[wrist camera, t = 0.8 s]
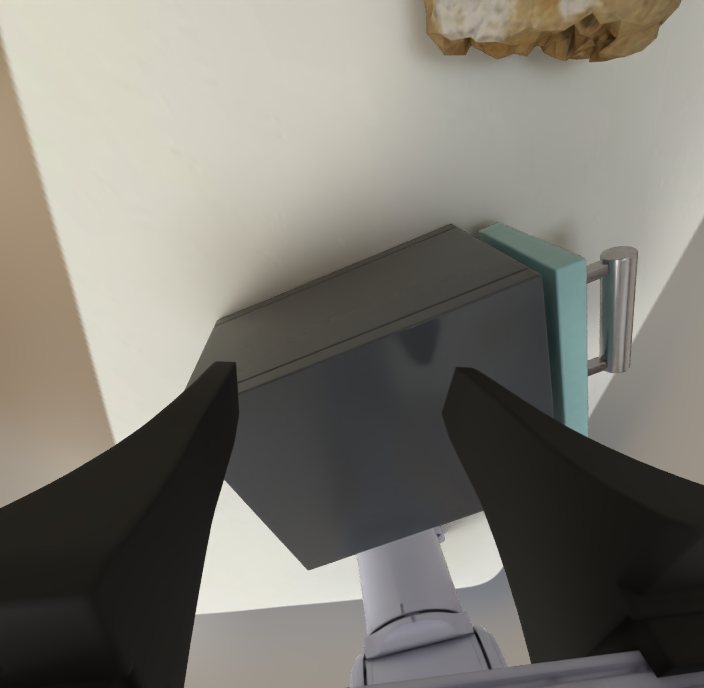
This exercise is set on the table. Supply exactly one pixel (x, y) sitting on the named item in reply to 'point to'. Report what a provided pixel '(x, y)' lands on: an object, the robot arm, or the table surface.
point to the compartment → (374, 390)
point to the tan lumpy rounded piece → (547, 26)
